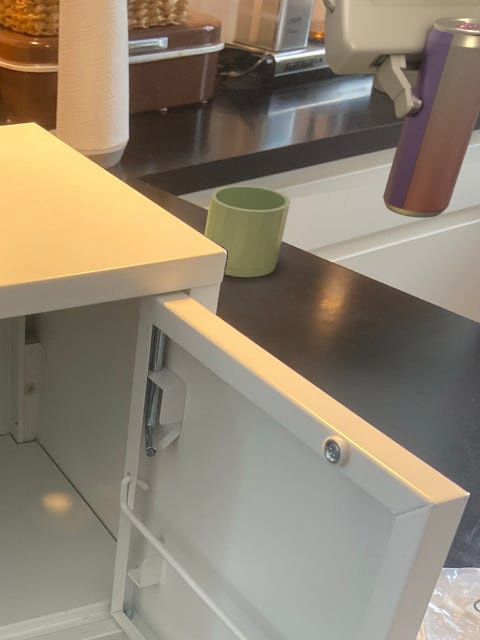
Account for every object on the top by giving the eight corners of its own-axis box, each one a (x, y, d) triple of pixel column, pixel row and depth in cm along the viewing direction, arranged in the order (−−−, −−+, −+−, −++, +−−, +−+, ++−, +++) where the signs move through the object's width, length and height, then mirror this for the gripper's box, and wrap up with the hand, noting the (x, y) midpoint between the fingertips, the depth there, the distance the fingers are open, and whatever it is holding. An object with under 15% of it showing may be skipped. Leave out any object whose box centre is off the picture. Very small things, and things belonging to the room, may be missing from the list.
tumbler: (268, 249, 126) (281, 186, 120) (282, 278, 119) (297, 212, 113) (196, 247, 126) (206, 184, 120) (206, 276, 119) (217, 210, 113)
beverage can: (370, 208, 90) (420, 23, 80) (397, 193, 93) (449, 14, 83) (429, 224, 87) (490, 34, 77) (456, 208, 91) (517, 24, 80)
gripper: (336, -66, 80) (357, 94, 80) (553, -67, 83) (574, 87, 83) (302, -12, 86) (321, 136, 86) (504, -15, 89) (524, 129, 89)
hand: (447, 112), depth 84 cm, fingers closed on beverage can, 6 cm apart
